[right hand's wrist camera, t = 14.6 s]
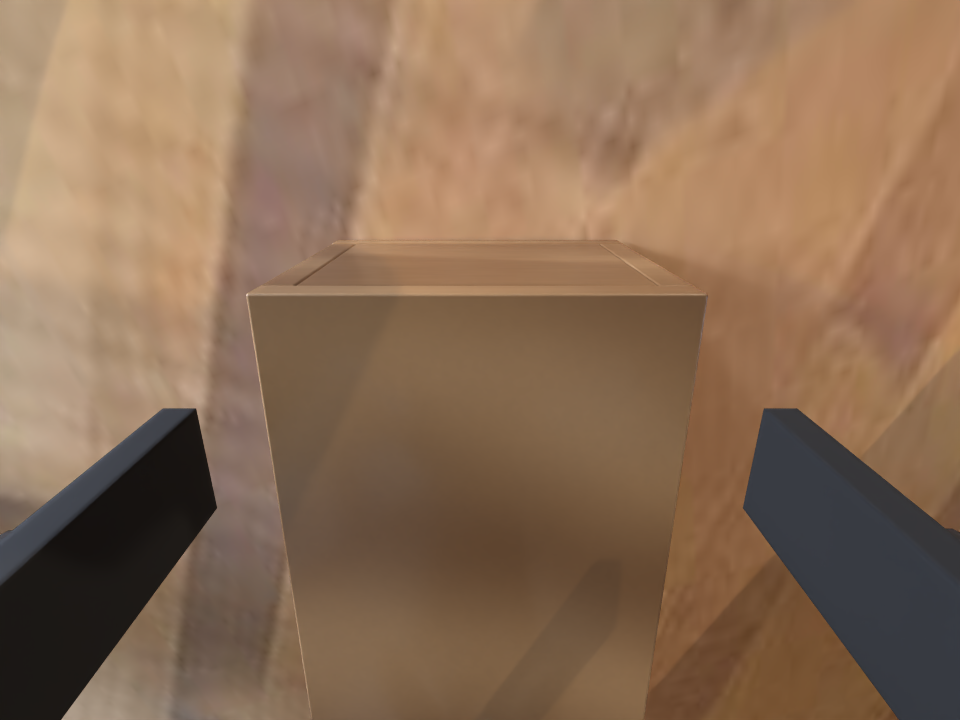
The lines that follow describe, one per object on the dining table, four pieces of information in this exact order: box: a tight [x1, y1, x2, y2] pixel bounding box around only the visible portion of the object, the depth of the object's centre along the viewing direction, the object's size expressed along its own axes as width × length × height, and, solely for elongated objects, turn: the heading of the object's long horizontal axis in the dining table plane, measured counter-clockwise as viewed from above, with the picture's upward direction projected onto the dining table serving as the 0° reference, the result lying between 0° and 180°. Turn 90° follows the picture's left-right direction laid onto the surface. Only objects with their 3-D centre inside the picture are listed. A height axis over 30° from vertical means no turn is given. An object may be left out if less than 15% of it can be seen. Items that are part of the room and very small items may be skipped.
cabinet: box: [246, 240, 708, 720], centre depth 20 cm, size 16×11×9 cm
